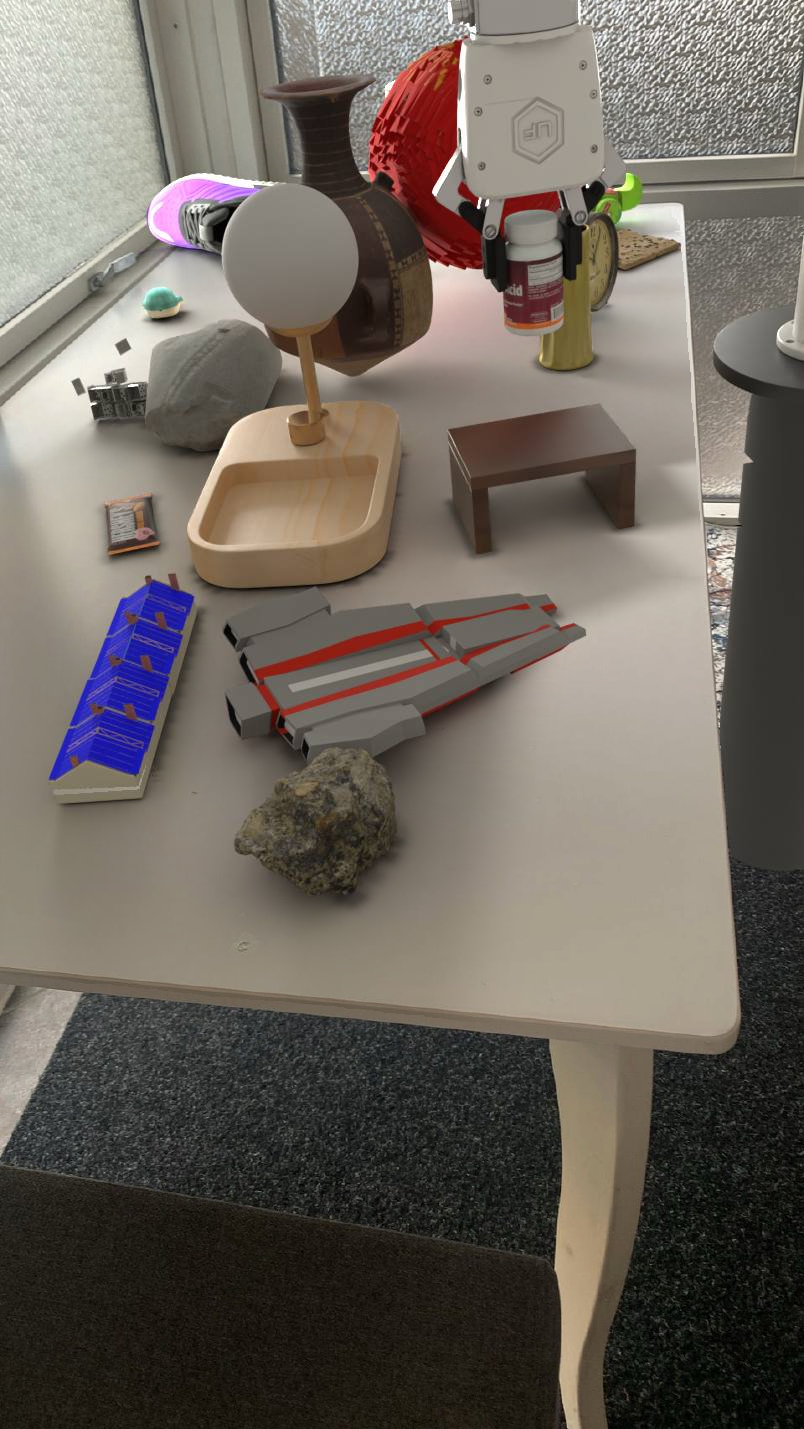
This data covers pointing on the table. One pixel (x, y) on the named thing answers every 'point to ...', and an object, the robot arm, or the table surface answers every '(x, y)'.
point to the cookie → (641, 247)
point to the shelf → (540, 462)
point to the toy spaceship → (376, 664)
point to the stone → (209, 382)
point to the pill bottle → (533, 274)
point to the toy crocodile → (620, 198)
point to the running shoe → (199, 209)
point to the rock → (324, 822)
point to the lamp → (296, 417)
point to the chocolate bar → (130, 524)
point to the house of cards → (116, 393)
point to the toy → (433, 156)
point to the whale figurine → (161, 303)
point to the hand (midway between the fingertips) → (532, 278)
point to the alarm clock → (602, 258)
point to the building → (127, 695)
